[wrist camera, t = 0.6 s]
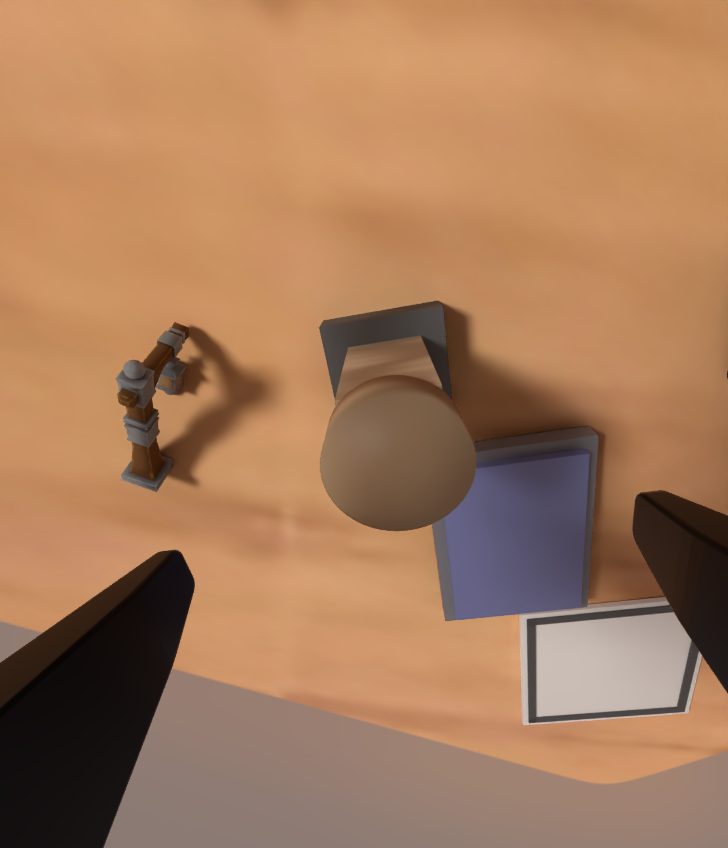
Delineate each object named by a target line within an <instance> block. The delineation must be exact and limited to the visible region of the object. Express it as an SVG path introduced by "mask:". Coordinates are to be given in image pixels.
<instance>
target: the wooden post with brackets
mask: <svg viewBox="0 0 728 848" xmlns="http://www.w3.org/2000/svg"><path fill="white" fill-rule="evenodd" d="M188 337H189V328H188V327H186V326H183V325H181V324H178V323H176V322H175V323H174V324H173V326H172V327H170V328H169V331H165V332H164V333H163V334H162V335H161V337H160V338H159V339H158V340H157V346H156V347H155V348H154V349H153V350H152V352H151V353H150V354H149V355H148V356H147V358H146V359H145V360H144V361H143V362H142V363H141V362H139V361H137V360H130V361H128V362H127V363H125V365H124V367H123V370H122V371H121V373H120V374H119V375H118V376H117V377H116V381H117V382H118V386H119V393H118V394H117V395H118V401H119V403H120V404H121V405H124V406H126V409H127V414H126V415H125V416H124V417H123V419H124V421H123V422H125V423H126V424H125V425H124V426H125V428H126V429H127V434H128V439H127V440H129V441H131V442H132V446H133V451H132V461H131V462H130V463H129V465H128V466H127V467H126V469H125V470H124V472H123V473H122V474H121V476H122V478H121V479H120V480H123V481H126V482H129V483H132V484H135V485H138V486H141V487H144V488H147V489H149V490H152V491H155V492H157V491H158V489H159V488H160V486H161V484H162V483H163V481H164V480H165V478H166V476H167V475H168V473H169V472H170V470H171V468H172V467H173V460H172V459H169V458H166V457H164V456H162V455H161V452H160V449H159V446H158V443H157V438H156V437H157V435H158V434H159V432H160V431H159V429H158V419H159V417H157V416H158V415H159V413H158V410H157V409H154V408H153V402H152V397H153V395H154V394H155V393H156V390H155V387H156V388H158V389H161V390H164V391H165V393H167V394H168V395H173V394H174V395H176V394H177V392H178V391H179V390H180V388H181V387H182V385H183V384H184V382H183V374H182V373H183V372H184V371H185V369H186V368H187V365H185V364H182V363H179V362H178V361H179V360H180V359H179V358H177V357H176V356H177V354H178V353H179V352H180V350H181V349H182V344H184V343H185V340H186V339H187V338H188ZM157 382H158V384H157Z"/></svg>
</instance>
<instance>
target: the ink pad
mask: <svg viewBox="0 0 728 848" xmlns="http://www.w3.org/2000/svg"><path fill="white" fill-rule="evenodd" d="M598 440H599V435H598V434H597V433H596V432H595V431H594V430H593V429H592V428H590V427H589V426H584V427H577V428H570V429H563V430H555V431H548V432H541V433H534V434H527V435H520V436H512V437H505V438H498V439H491V440H484V441H477V442H473V444H474V447H475V452H476V472H475V477H474V480H473V484H472V486H471V488H470V490H469V492H468V494H467V495H466V497H465V498H464V500H463V501H462V502H461V503H460V504H459V506H458V507H457V508H456V509H454V510H453V511H452V512H451V513H450V514H448V515H447V516H445V517H444V518H442V519H441V520H439V521H437V522H435V523H433V524H432V529H433V536H434V544H435V551H436V559H437V566H438V574H439V581H440V589H441V596H442V604H443V610H444V616H445V621H452V620H463V619H473V618H484V617H494V616H504V615H514V614H524V613H535V612H545V611H555V610H565V609H575V608H584V607H587V605H588V590H589V575H590V560H591V545H592V530H593V515H594V500H595V485H596V470H597V455H598Z"/></svg>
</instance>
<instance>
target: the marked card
mask: <svg viewBox="0 0 728 848" xmlns="http://www.w3.org/2000/svg"><path fill="white" fill-rule="evenodd" d="M519 630H520V666H521V701H522V722H523V725H533V724H547V723H560V722H574V721H588V720H602V719H616V718H630V717H644V716H658V715H672V714H685V713H688V712H689V708H690V704H691V700H692V696H693V692H694V687H695V683H696V679H697V675H698V671H699V667H700V663H701V659H702V655H701V653H700V652H699V650H698V649H697V647H696V646H695V644H694V643H693V642H692V640H691V639H690V637H689V636H688V634H687V633H686V631H685V630H684V628H683V626H682V625H681V623H680V622H679V620H678V619H677V617H676V615H675V613H674V612H673V610H672V608H671V607H670V605H669V603H668V601H667V599H666V597H659V598H649V599H638V600H628V601H618V602H608V603H598V604H588V605H587V607H584V608H575V609H565V610H555V611H545V612H535V613H524V614H519Z"/></svg>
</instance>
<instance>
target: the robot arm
mask: <svg viewBox="0 0 728 848" xmlns="http://www.w3.org/2000/svg"><path fill="white" fill-rule="evenodd" d="M727 378H728V372H727ZM633 536H634V539H635V541H636V544H637V545H638V547H639V549H640V551H641V553H642V555H643V556H644V558H645V560H646V562H647V564H648V566H649V568H650V569H651V571H652V573H653V575H654V577H655V579H656V581H657V582H658V584H659V586H660V588H661V590H662V592H663V594H664V595H665V597H666V599H667V601H668V603H669V605H670V607H671V608H672V610H673V612H674V613H675V615H676V617H677V619H678V620H679V622H680V623H681V625H682V626H683V628H684V630H685V631H686V633H687V634H688V636H689V637H690V639H691V640H692V642H693V643H694V644H695V646H696V647H697V649H698V650H699V652H700V653H701V655H702V656H703V658H704V659H705V661H706V662H707V664H708V665H709V667H710V668H711V669H712V671H713V672H714V674H715V675H716V677H717V678H718V680H719V681H720V683H721V684H722V686H723V687H724V689H725V690H726V691H727V693H728V516H727V515H725V514H722V513H720V512H717V511H714V510H712V509H709V508H707V507H704V506H702V505H699V504H697V503H694V502H692V501H689V500H687V499H684V498H682V497H679V496H677V495H674V494H672V493H669V492H666V491H662V490H659V491H651V492H642V493H640V494H638V495H637V497H636V499H635V507H634V517H633ZM194 587H195V582H194V578H193V575H192V573H191V571H190V569H189V567H188V565H187V563H186V561H185V559H184V557H183V555H182V553H181V552H180V551H178V550H169V551H161V552H158V553H156V554H155V555H153V556H152V557H150V558H149V559H147V560H146V561H145V562H143V563H142V564H140V565H139V566H137V567H136V568H135V569H133V570H132V571H130V572H129V573H128V574H126V575H125V576H123V577H122V578H120V579H119V580H118V581H116V582H115V583H113V584H112V585H110V586H109V587H108V588H106V589H105V590H103V591H102V592H100V593H99V594H98V595H96V596H95V597H93V598H92V599H90V600H89V601H88V602H86V603H85V604H83V605H82V606H80V607H79V608H78V609H76V610H75V611H73V612H72V613H71V614H69V615H68V616H66V617H65V618H63V619H62V620H61V621H59V622H58V623H56V624H55V625H53V626H52V627H51V628H49V629H48V630H46V631H45V632H43V633H42V634H41V635H39V636H38V637H36V638H35V639H33V640H32V641H31V642H29V643H28V644H26V645H25V646H23V647H22V648H21V649H19V650H18V651H16V652H15V653H14V654H12V655H11V656H9V657H8V658H6V659H5V660H4V661H2V662H1V663H0V848H104V845H105V842H106V840H107V837H108V834H109V832H110V829H111V827H112V824H113V821H114V819H115V816H116V814H117V811H118V808H119V806H120V803H121V800H122V798H123V795H124V793H125V790H126V787H127V784H128V782H129V780H130V777H131V774H132V772H133V769H134V766H135V764H136V761H137V758H138V756H139V753H140V751H141V748H142V745H143V743H144V740H145V738H146V735H147V732H148V730H149V727H150V724H151V722H152V719H153V716H154V714H155V711H156V708H157V706H158V703H159V701H160V698H161V696H162V693H163V690H164V688H165V685H166V683H167V680H168V677H169V674H170V672H171V669H172V666H173V663H174V660H175V657H176V654H177V650H178V647H179V643H180V640H181V636H182V632H183V629H184V625H185V622H186V618H187V614H188V611H189V607H190V604H191V600H192V596H193V593H194Z"/></svg>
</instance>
